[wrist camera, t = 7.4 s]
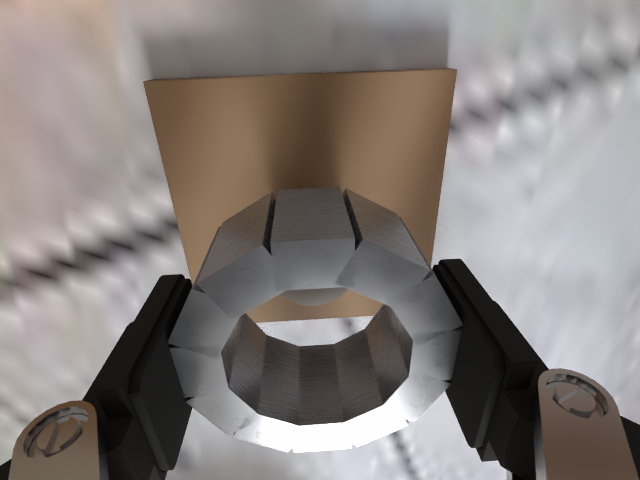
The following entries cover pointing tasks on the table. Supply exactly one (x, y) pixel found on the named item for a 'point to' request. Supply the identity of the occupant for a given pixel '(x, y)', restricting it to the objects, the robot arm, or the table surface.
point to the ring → (319, 360)
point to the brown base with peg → (303, 156)
